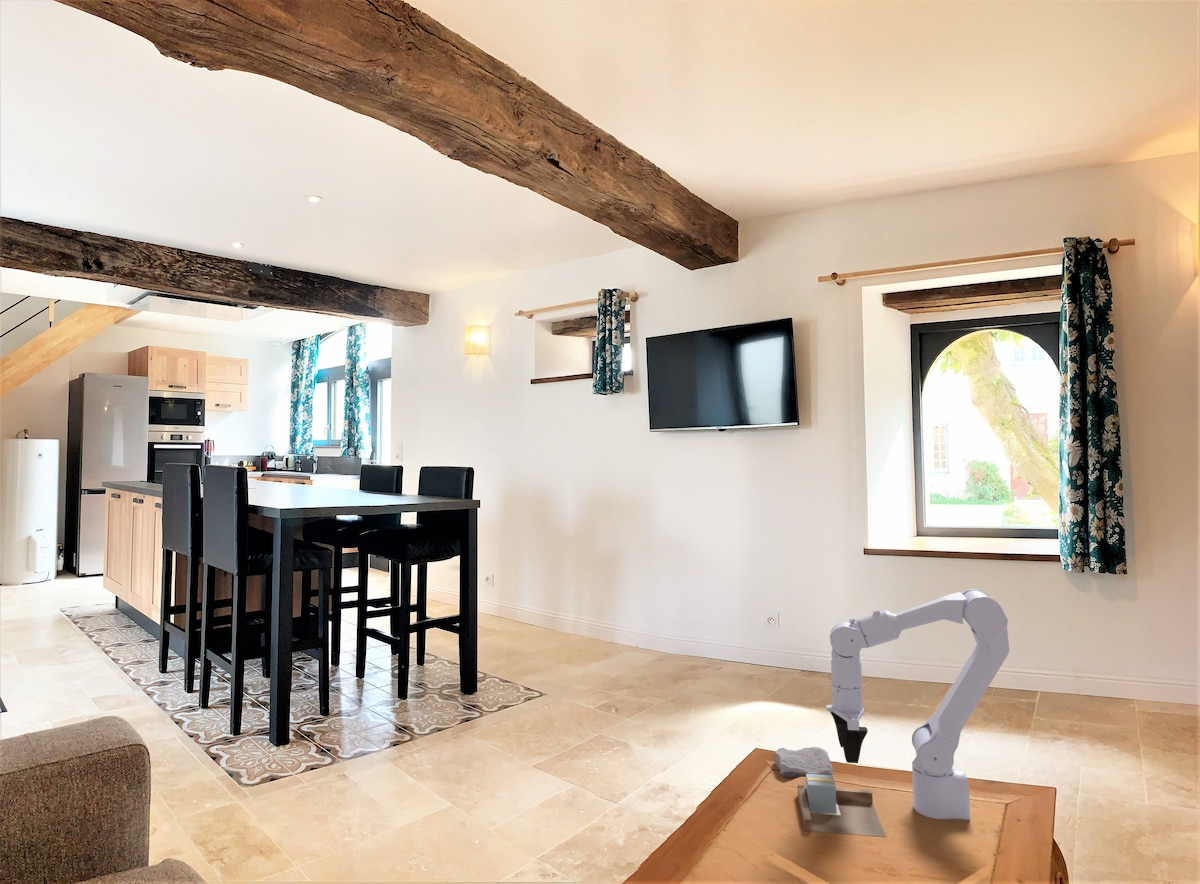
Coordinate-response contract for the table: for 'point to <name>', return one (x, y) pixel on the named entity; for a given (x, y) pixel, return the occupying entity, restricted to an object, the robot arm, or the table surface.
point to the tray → (844, 814)
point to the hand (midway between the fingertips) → (848, 754)
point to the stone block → (803, 762)
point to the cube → (821, 793)
